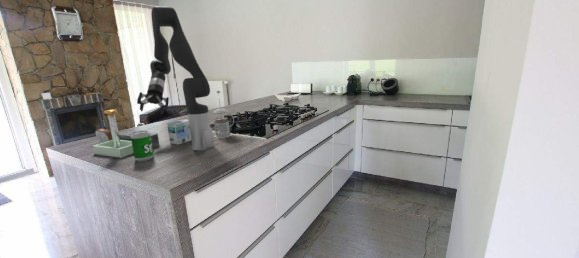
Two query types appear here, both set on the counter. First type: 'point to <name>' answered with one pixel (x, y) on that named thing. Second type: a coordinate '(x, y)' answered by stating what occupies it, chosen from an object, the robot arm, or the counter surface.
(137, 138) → the soda can
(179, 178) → the counter surface
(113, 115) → the gold capped white cylinder
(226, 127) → the french press
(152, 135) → the hitch bar
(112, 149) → the tray
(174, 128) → the light bulb box
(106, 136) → the bread slice
